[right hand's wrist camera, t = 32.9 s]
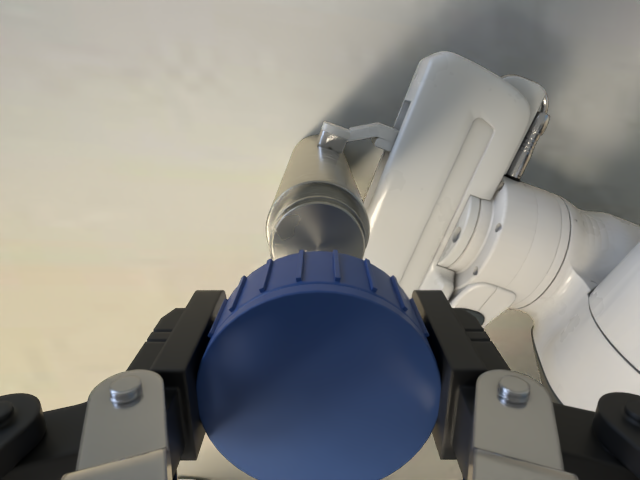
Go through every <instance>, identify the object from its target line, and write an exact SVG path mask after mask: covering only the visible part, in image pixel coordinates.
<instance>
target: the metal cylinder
mask: <svg viewBox="0 0 640 480" xmlns="http://www.w3.org/2000/svg"><path fill="white" fill-rule="evenodd" d="M318 138H319V135H311V136H308V137H306V138H304V139H302V140H301V141H300V142H299V143H298V144H297V145H296V146H295V148H294V150H293V152H292V155H291V157H290V160H289V162H288V165H287V168H286V170H285V173H284V175H283V178H282V180H281V183H280V186H279V188H278V191H277V193H276V196H275V199H274V201H273V204H272V206H271V209H270V212H269V214H268V217H267V222H266V237H267V242H268V245H269V250H270V256H271V258H272V260H273V261H274V260H276V259H278V258H281V257H284V256H288V255H291V254H296V253H299V250H304V252H312V251H325V252H333V250H338V253H341V254H347V255H350V256H353V257H356V258H360V259H363V257H364V253H365V250H366V247H367V245H368V241H369V236H370V223H369V218H368V214H367V212H366V209H365V207H364V204H363V201H362V199H361V196H360V194H359V191H358V188H357V186H356V183H355V181H354V178H353V175H352V173H351V170H350V168H349V165H348V162H347V160H346V157H345V154H344V152H343V153H339V152H337V151H335V150H333V149H332V148H331V147H328V148H327V147H323V146H320V145H318V144H317V141H318Z"/></svg>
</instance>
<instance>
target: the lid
mask: <svg viewBox="0 0 640 480" xmlns="http://www.w3.org/2000/svg"><path fill="white" fill-rule="evenodd" d="M428 336H429V334H428V331H427V329H426V327H425V324H424V322H423V320H422V317H421V315H420V313H419V311H418V308H417V306H416V304H415V301H414V300H413V298H411V299H409V298H408V296H407V295H406V293H405V292H404V290H403V289H402V288H401V287H400V286H399V284H398V282H397V279H396V277H395V276H394V275H392V276H391V277H390V276H389V275H388V274H386V273H385V272H384V271H382V270H381V269H379V268H378V267H376V266H374V265H373V264H371V263H370V260H369V259H367V258H365V260H362V259H360V258H356V257H353V256H350V255H347V254H341V253H338V250H333V252H325V251H312V252H304V250H299V253H296V254H291V255H288V256H284V257H281V258H278V259H276V260H274V261H273V260H272V259H269V260H267V264H265V265H263V266H262V267H260V268H259V269H257V270H255V271H254V272H252V273H251V274H250V275H249V276H248V277H246V276H243V277H242V278H241V280H240V283H239V285H238V287H237V288H236V289H235V290H234V291H233V293H232V294H231V296H230V297H229V299H228V300H227V299H224V301H223V303H222V305H221V308H220V310H219V312H218V314H217V316H216V319H215V321H214V323H213V325H212V328H211V330H210V332H209V334H208V337H210V338H211V339H210V341H209V344H208V346H207V348H206V351H205V353H204V355H203V357H202V360H201V362H200V366H199V369H198V373H197V379H196V391H197V400H198V408H199V416H200V420H201V422H202V425H203V428H204V429H205V431H206V433H207V435H208V437H209V439H210V440H211V441H212V443H213V444H214V445H215V447H216V448H217V450H218V451H219V452H220V453H221V454H222V455H223V456H224V457H225V458H226V459H227V460H228V461H230V462H231V463H232V464H233V465H234V466H236V467H237V468H238V469H240V470H241V471H243V472H245V473H246V474H248V475H249V476H251V477H253V478H255V479H257V480H380V479H382V478H384V477H386V476H388V475H390V474H391V473H393V472H395V471H396V470H398V469H399V468H401V467H402V466H403V465H404V464H406V463H407V462H408V461H409V460H410V459H412V457H413V456H414V455H415V454H416V453H417V452H418V451H419V450H420V449H421V448H422V446H423V445H424V444H425V442H426V441H427V439H428V438H429V436H430V434H431V432H432V430H433V428H434V427H435V424H436V421H437V418H438V411H439V403H440V393H441V376H440V372H439V368H438V365H437V362H436V359H435V357H434V354H433V352H432V350H431V347H430V345H429V342H428V340H427V338H426V337H428Z"/></svg>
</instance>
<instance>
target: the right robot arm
mask: <svg viewBox="0 0 640 480" xmlns="http://www.w3.org/2000/svg"><path fill="white" fill-rule="evenodd" d="M412 298H413V300H414V301H415V304H416V306H417V308H418V311H419V313H420V315H421V317H422V320H423V322H424V324H425V327H426V329H427V331H428V334H429V336H428V337H426V338H427V340H428V342H429V345H430V347H431V350H432V352H433V354H434V357H435V359H436V362H437V365H438V368H439V372H440V376H441V393H440V403H439V411H438V418H437V421H436V424H435V427H434V428H433V430H432V434H433V437H434V440H435V443H436V446H437V450H438V453H439V456H440V459H441V460H457V461H458V464H459V467H460V469H461V472H462V480H640V396H639V395H636V394H631V393H625V392H611V393H607V394H605V395H603V396H601V397H600V398H599V401H598V404H597V408H596V411H595V412H594V411H589V410H585V409H580V408H575V407H571V406H566V405H561V404H558V403H554V402H553V401H552V398H551V395H550V393H549V392H548V390H547V389H546V388H545V387H544V386H543V385H542V384H540V383H539V382H538V381H536V380H534V379H533V378H531V377H529V376H527V375H524V374H522V373H519V372H515V371H511V370H510V368H509V367H508V365H507V364H506V362H505V361H504V359H503V358H502V356H501V355H500V353H499V352H498V350H497V349H496V347H495V346H494V344H493V343H492V341H490V338H489V337H488V335H487V334H486V332H484V329H483V327H482V326H481V324H480V323H479V321H478V320H477V318H476V317H474V316H473V315H471V314H470V313H469V312H467V311H466V310H464V309H463V308H452V307H451V305H450V303H449V302H448V300H447V298H446V297H445V295H444V293H443V292H442V290H414V291H413V293H412ZM224 299H226V294H225V291H224V290H197V291H195V293H194V294H193V296H192V298H191V300H190V301H189V303H188V305H187V306H186V308H175V309H174V310H172V311H171V312H170V313H168V314H167V315H165V316H164V317H162V318H161V319H160V321H159V322H158V324H157V325H156V327H155V328H154V332H152V333H151V334H150V336H149V337H148V339H147V342H145V343H144V345H143V346H142V348H141V349H140V351H139V352H138V354H137V355H136V357H135V358H134V360H133V361H132V363H131V364H130V366H129V367H128V369H127V370H126V371H125V372H121V373H118V374H116V375H113V376H111V377H109V378H107V379H106V380H104V381H102V382H101V383H100V384H98V385H97V386H96V387H95V388H94V389H93V390H92V392H91V393H90V395H89V398H88V401H87V402H85V403H82V404H78V405H74V406H69V407H65V408H60V409H56V410H51V411H46V412H43V411H42V408H41V404H40V401H39V399H38V398H37V397H35V396H33V395H30V394H24V393H16V394H9V395H4V396H0V480H178V475H177V467H178V464H179V461H180V460H197V457H198V454H199V451H200V448H201V444H202V441H203V438H204V435H205V432H206V431H205V429H204V428H203V425H202V422H201V420H200V416H199V408H198V400H197V391H196V379H197V373H198V369H199V366H200V362H201V360H202V357H203V355H204V353H205V351H206V348H207V346H208V344H209V341H210V339H211V338H210V337H208V334H209V332H210V330H211V328H212V325H213V323H214V321H215V319H216V316H217V314H218V312H219V310H220V308H221V305H222V303H223V301H224Z"/></svg>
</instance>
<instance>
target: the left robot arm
mask: <svg viewBox="0 0 640 480" xmlns="http://www.w3.org/2000/svg"><path fill="white" fill-rule="evenodd" d="M541 104H542V105H541ZM548 105H549V101H548V96H547V93H546V91H545V89H544V88H543V87H542V86H541V85H540V84H538V83H537V82H534V81H532V80H529V79H527V78H524V77H521V76H519V75H515V74H509V75H504V76H501V77H499V76H498V75H496V74H494V73H493V72H491V71H489V70H487V69H486V68H484V67H482V66H480V65H479V64H477V63H475V62H473V61H471V60H469V59H467V58H464V57H462V56H460V55H458V54H455V53H453V52H449V51H440V52H436V53H434V54H431V55H429V56H427V57H425V58H423V59H422V60H421V61H420V62H419V64H418V66H417V68H416V71H415V73H414V76H413V78H412V81H411V83H410V86H409V88H408V91H407V93H406V96H405V98H404V101H403V104H402V106H401V109H400V111H399V114H398V116H397V119H396V121H395V124H394V126H393V127H390V126H387V125H384V124H382V123H379V122H376V123H370V124H365V125H360V126H355V127H350V128H349V129H346V128H344V127H341V126H338V125H335V124H333V123H330V122H326V121H324V122H323V125H322V128H321V131H320V134H319V138H318V141H317V144H318V145H320V146H323V147H327V148H328V147H331V148H332V149H333V150H335V151H337V152H339V153H343V150H344V148H345V145H346V143H347V142H351V141H356V140H362V139H368V138H372V139H371V141H372V143H373V144H374V145H375V146H376V147H379V148H381V149H384V151H383V154H382V156H381V159H380V161H379V164H378V166H377V169H376V171H375V174H374V176H373V179H372V181H371V184H370V186H369V189H368V191H367V194H366V197H365V199H364V202H363V204H364V207H365V209H366V212H367V214H368V218H369V223H370V236H369V241H368V245H367V247H366V250H365V253H364V257H363V259H362V260H365V258H367V259H369V260H370V263H371V264H373V265H374V266H376V267H378V268H379V269H381V270H382V271H384V272H385V273H386V274H388V275H389V276H390V277H391V276H392V275H394V276H395V277H396V279H397V282H398V284H399V286H400V287H401V288H402V289H403V290H404V292H405V293H406V295H407V296H408V298H409V299H411V298H412V293H413V291H414V290H442V292H443V293H444V295H445V297H446V298H447V300H448V302H449V303H450V305H451V307H452V308H463V309H464V310H466V311H467V312H469V313H470V314H471V315H473V316H474V317H476V318H477V320H478V321H479V323H480V324H481V326H482V327H483V328H484V327H485V326H486V325H488V324H489V323H490V322H491V321H492V320H493V319H495V318H496V317H497V316H498V315H500V314H501V313H502V312H504V311H505V310H506V309H513V310H519V311H523V312H525V313H526V314H528V315H529V316H530V317H531V319H532V320H533V322H534V326H533V327H532V329H531V335H532V342H533V348H534V352H535V356H536V360H537V365H538V368H539V372H540V376H541V380H542V384H543V386H544V387H545V388H546V389H547V390H548V392H549V393H550V395H551V398H552V401H553V402H554V403H558V404H561V405H566V406H571V407H575V408H580V409H585V410H589V411H594V412H595V411H596V408H597V404H598V401H599V398H600V397H601V396H603V395H605V394H607V393H611V392H625V393H631V394H636V395H639V396H640V226H639V225H637V224H634V223H632V222H629V221H627V220H624V219H622V218H619V217H616V216H614V215H611V214H608V213H603V212H596V211H584V210H581V209H578V208H576V207H575V206H574V205H572V204H571V203H570V202H569V201H567V200H566V199H564V198H563V197H561V196H559V195H556V194H553V193H551V192H548V191H545V190H543V189H540V188H537V187H534V186H532V185H529V184H526V183H524V182H521V181H520V178H521V176H522V174H523V172H524V170H525V168H526V166H527V165H528V163H529V161H530V158H531V156H532V154H533V150H534V148H535V146H536V144H537V142H538V140H539V138H540V136H542V135H543V133H544V131H545V130H546V128H547V125H548V123H549V120H550V115H548V114H547V111H548ZM540 106H541V111H540V112H539V111H538V110H539V108H540ZM178 480H194V479H178Z"/></svg>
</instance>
